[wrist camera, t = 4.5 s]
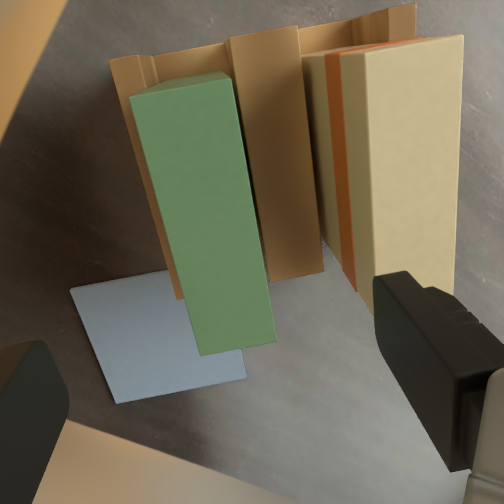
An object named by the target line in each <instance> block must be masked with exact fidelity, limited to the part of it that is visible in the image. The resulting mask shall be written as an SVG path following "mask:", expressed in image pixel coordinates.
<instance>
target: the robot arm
mask: <svg viewBox="0 0 504 504" xmlns="http://www.w3.org/2000/svg"><path fill="white" fill-rule="evenodd" d="M372 287H373V306H374V324H375V335H376V339H377V343H378V346H379V349H380V352H381V354H382V356H383V358H384V359H385V361H386V363H387V364H388V366H389V368H390V370H391V371H392V373H393V375H394V376H395V378H396V380H397V382H398V383H399V385H400V387H401V389H402V390H403V392H404V394H405V395H406V397H407V399H408V401H409V402H410V404H411V406H412V408H413V409H414V411H415V413H416V414H417V416H418V418H419V420H420V421H421V423H422V425H423V427H424V428H425V430H426V432H427V433H428V435H429V437H430V439H431V440H432V442H433V444H434V446H435V447H436V449H437V451H438V452H439V454H440V456H441V458H442V459H443V461H444V463H445V465H446V466H447V468H448V470H449V471H450V472H456V471H461V470H466V469H470V470H471V471H472V473H471V474H469V477H468V481H467V486H466V491H465V496H464V502H463V504H504V344H502V343H501V342H500V341H499V340H498V339H497V338H496V337H495V336H494V335H493V334H492V333H491V332H490V331H489V330H488V329H487V328H486V327H485V326H484V325H483V324H482V323H479V320H478V319H477V318H476V317H475V316H474V315H473V314H472V313H471V312H468V311H467V309H466V308H465V307H464V306H463V305H462V304H461V303H460V302H459V301H458V300H457V299H456V298H455V297H454V296H453V295H451V294H449V293H446V292H444V291H442V290H440V289H438V288H436V287H434V286H431V287H426V288H423V287H422V286H421V285H420V284H419V283H418V282H417V281H416V280H415V279H414V277H413V276H412V275H411V274H410V273H409V272H408V271H406V270H404V271H399V272H393V273H388V274H383V275H378V276H374V278H373V283H372ZM68 412H69V394H68V390H67V387H66V385H65V383H64V381H63V379H62V377H61V374H60V372H59V370H58V368H57V366H56V364H55V362H54V359H53V357H52V355H51V353H50V351H49V349H48V347H47V345H46V344H45V343H44V342H43V341H41V340H36V341H31V342H26V343H21V344H16V345H11V346H7V347H5V348H4V349H3V350H2V351H1V352H0V504H32V502H33V499H34V497H35V494H36V492H37V489H38V487H39V484H40V482H41V480H42V477H43V475H44V472H45V470H46V467H47V465H48V462H49V460H50V457H51V455H52V453H53V450H54V448H55V445H56V443H57V440H58V438H59V435H60V433H61V430H62V428H63V425H64V423H65V421H66V418H67V415H68Z"/></svg>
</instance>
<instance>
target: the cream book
mask: <svg viewBox="0 0 504 504" xmlns="http://www.w3.org/2000/svg"><path fill="white" fill-rule="evenodd" d="M463 49H464V35H452V36H442V37H433V38H426V37H419V38H410V39H402V40H396V41H391V42H386V43H377V44H368V45H358V46H349V47H341V48H336V49H331V50H325V51H320V52H315V53H309V54H304V55H301V61H302V70H303V79H304V88H305V98H306V107H307V116H308V126H309V135H310V144H311V153H312V163H313V172H314V181H315V191H316V200H317V209H318V218H319V228H320V233H321V235H322V236H323V238H324V240H325V241H326V243H327V244H328V246H329V247H330V249H331V250H332V252H333V254H334V255H335V257H336V258H337V260H338V261H339V263H340V265H341V266H342V268H343V272H344V273H345V275H346V276H347V278H348V280H349V281H350V283H351V284H352V286H353V287H354V289H355V291H358V293H359V294H360V296H361V297H362V299H363V300H364V302H365V303H366V305H367V307H368V308H369V310H370V311H371V313H372V314H373V316H374V306H373V287H372V283H373V278H374V276H378V275H383V274H388V273H393V272H399V271H404V270H406V271H408V272H409V273H410V274H411V275H412V276H413V277H414V279H415V280H416V281H417V282H418V283H419V284H420V285H421V286H422V287H423V288H426V287H431V286H434V287H436V288H438V289H440V290H442V291H444V292H446V293H449V294H451V295H453V287H454V263H455V239H456V216H457V192H458V168H459V144H460V120H461V97H462V73H463Z"/></svg>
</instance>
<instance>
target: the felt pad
mask: <svg viewBox="0 0 504 504" xmlns="http://www.w3.org/2000/svg"><path fill="white" fill-rule="evenodd" d="M70 293H71V295H72V298H73V300H74V302H75V305H76V307H77V310H78V312H79V315H80V317H81V319H82V322H83V324H84V327H85V329H86V332H87V334H88V337H89V339H90V341H91V344H92V346H93V349H94V351H95V354H96V356H97V359H98V361H99V363H100V366H101V368H102V371H103V373H104V376H105V378H106V380H107V383H108V385H109V388H110V390H111V393H112V395H113V398H114V400H115V402H116V404H118V403H123V402H128V401H133V400H138V399H143V398H148V397H153V396H158V395H164V394H169V393H174V392H179V391H184V390H189V389H194V388H199V387H204V386H209V385H215V384H220V383H225V382H230V381H235V380H240V379H245V378H247V376H246V371H245V367H244V362H243V358H242V354H241V349H237V350H232V351H226V352H221V353H216V354H211V355H206V356H200V354H199V351H198V347H197V344H196V340H195V336H194V333H193V329H192V326H191V322H190V318H189V315H188V311H187V308H186V304H185V300H184V299H182V300H177V299H176V296H175V292H174V289H173V285H172V282H171V278H170V275H169V271H168V270H163V271H158V272H152V273H147V274H142V275H137V276H132V277H126V278H121V279H116V280H111V281H106V282H100V283H95V284H90V285H85V286H80V287H74V288H71V289H70Z"/></svg>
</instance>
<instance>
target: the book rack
mask: <svg viewBox="0 0 504 504" xmlns="http://www.w3.org/2000/svg"><path fill="white" fill-rule="evenodd" d="M410 38H416V3H411V4H406V5H400V6H395V7H390V8H386V9H383V10H379V11H376V12H373V13H369V14H366V15H363V16H359V17H356V18H353V19H348V20H343V21H337V22H332V23H327V24H321V25H316V26H310V27H305V28H300V29H298V26H297V25H293V26H288V27H282V28H277V29H271V30H266V31H261V32H255V33H250V34H245V35H239V36H234V37H229V38H228V39H227V41H226V42H224V43H219V44H214V45H208V46H203V47H198V48H192V49H187V50H182V51H176V52H171V53H165V54H160V55H155V56H148V55H132V56H126V57H121V58H115V59H110V60H108V62H109V66H110V69H111V73H112V76H113V80H114V83H115V87H116V90H117V94H118V97H119V100H120V104H121V107H122V111H123V114H124V118H125V121H126V125H127V128H128V132H129V135H130V139H131V142H132V146H133V149H134V153H135V156H136V160H137V163H138V167H139V170H140V174H141V177H142V181H143V184H144V188H145V191H146V195H147V198H148V202H149V205H150V209H151V212H152V216H153V219H154V222H155V226H156V229H157V233H158V236H159V240H160V243H161V247H162V250H163V254H164V257H165V261H166V264H167V268H168V271H169V275H170V278H171V282H172V285H173V289H174V292H175V296H176V299H177V300H182V299H184V297H183V293H182V290H181V286H180V282H179V279H178V275H177V272H176V268H175V264H174V261H173V257H172V254H171V250H170V246H169V243H168V239H167V236H166V232H165V228H164V225H163V221H162V218H161V214H160V210H159V207H158V203H157V200H156V196H155V192H154V189H153V185H152V182H151V178H150V174H149V171H148V167H147V164H146V160H145V156H144V153H143V149H142V146H141V142H140V138H139V135H138V131H137V128H136V124H135V120H134V117H133V113H132V110H131V106H130V102H129V99H128V98H129V97H130V96H132V95H134V94H137V93H139V92H141V91H144V90H146V89H148V88H150V87H153V86H155V85H157V84H160V83H162V82H164V81H166V80H170V79H175V78H181V77H186V76H191V75H197V74H202V73H208V72H213V71H218V70H221V71H223V72H224V73H225V74H226V75H227V76H229V77H230V78H231V80H232V86H233V91H234V97H235V103H236V108H237V114H238V120H239V125H240V131H241V137H242V142H243V148H244V154H245V160H246V165H247V171H248V177H249V182H250V188H251V194H252V199H253V205H254V211H255V216H256V222H257V228H258V234H259V239H260V245H261V250H262V254H263V258H264V261H265V265H266V269H267V272H268V276H269V280H270V282H274V281H279V280H285V279H290V278H295V277H300V276H305V275H310V274H316V273H321V272H324V265H323V256H322V246H321V237H320V228H319V218H318V209H317V200H316V191H315V181H314V172H313V163H312V153H311V144H310V135H309V126H308V116H307V107H306V98H305V88H304V79H303V70H302V61H301V55H304V54H309V53H315V52H320V51H325V50H331V49H336V48H341V47H349V46H358V45H368V44H377V43H386V42H391V41H396V40H402V39H410Z"/></svg>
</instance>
